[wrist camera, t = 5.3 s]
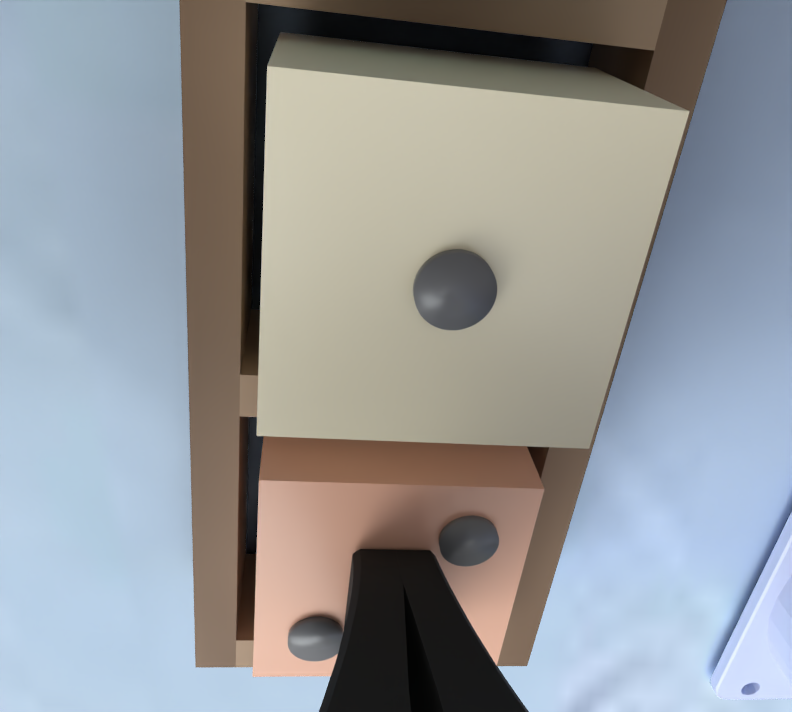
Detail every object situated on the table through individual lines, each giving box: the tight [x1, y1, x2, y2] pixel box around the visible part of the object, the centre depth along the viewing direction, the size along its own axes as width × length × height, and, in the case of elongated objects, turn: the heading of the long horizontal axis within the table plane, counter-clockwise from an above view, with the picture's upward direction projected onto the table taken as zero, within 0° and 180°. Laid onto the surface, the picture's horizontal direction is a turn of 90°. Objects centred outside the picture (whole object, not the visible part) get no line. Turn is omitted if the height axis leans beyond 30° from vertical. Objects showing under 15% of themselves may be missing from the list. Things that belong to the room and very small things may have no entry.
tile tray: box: [180, 0, 727, 667], centre depth 12 cm, size 7×19×2 cm, turn 173°
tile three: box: [253, 436, 544, 677], centre depth 14 cm, size 5×5×3 cm
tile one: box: [256, 32, 690, 449], centre depth 10 cm, size 5×5×3 cm
